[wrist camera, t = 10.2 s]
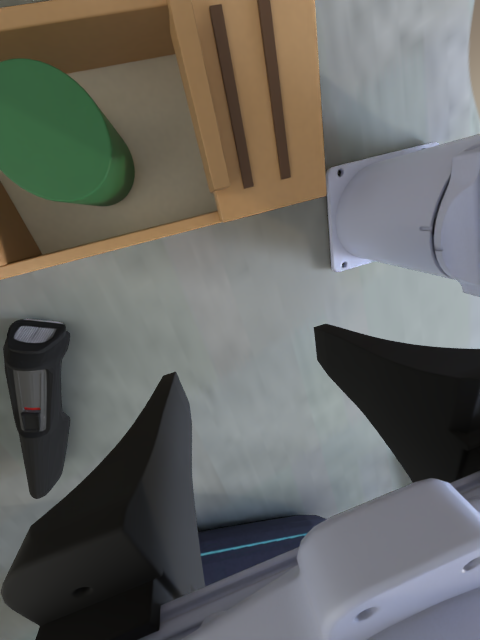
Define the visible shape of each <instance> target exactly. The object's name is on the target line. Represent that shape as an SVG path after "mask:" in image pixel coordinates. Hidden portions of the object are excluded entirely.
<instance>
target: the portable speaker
mask: <svg viewBox="0 0 480 640" xmlns="http://www.w3.org/2000/svg"><path fill="white" fill-rule="evenodd" d="M325 520H326V519H324V518H322V517H319V516H316V515H296V516H290V517H284V518H278V519H272V520H267V521H261V522H255V523H249V524H243V525H237V526H231V527H225V528H219V529H213V530H207V531H201V532H198V537H199V545H200V553H201V561H202V568H203V575H204V582H205V586H208V585H210V584H213V583H215V582H217V581H220V580H222V579H224V578H227V577H229V576H231V575H234V574H236V573H239V572H241V571H243V570H246V569H248V568H250V567H253V566H255V565H258V564H260V563H262V562H265V561H267V560H269V559H272V558H274V557H276V556H279V555H281V554H284V553H286V552H288V551H291V550H293V549H295V548H298V547H299V546H300V543H301V540H302V539H303V538H304V537H305V536H306V534H307V533H308V532H309V531H310V530H311V529H312V528H313V527H314V526H316V525H318V524H320V523H321V522H323V521H325Z"/></svg>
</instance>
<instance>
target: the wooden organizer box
mask: <svg viewBox="0 0 480 640" xmlns="http://www.w3.org/2000/svg"><path fill="white" fill-rule="evenodd" d="M17 58H23V59H32V60H37V61H41V62H44V63H47V64H49V65H51V66H53V67H55V68H57V69H59V70H61V71H63V72H64V73H66V74H67V75H69V76H70V77H71V78H72V79H74V80H75V81H76V82H77V83H78V84H79V85H80V86H81V87H83V88H84V89H85V91H86V92H87V93H88V94H89V95H90V96H91V98H92V99H93V100H94V102H95V103H96V104H97V106H98V107H99V108H100V110H101V111H102V112H103V114H104V115H105V116H106V117H107V119H108V120H109V121H110V123H111V124H112V125H113V127H114V128H115V129H116V131H117V132H118V133H119V135H120V136H121V137H122V139H123V140H124V142H125V143H126V145H127V146H128V148H129V150H130V153H131V155H132V158H133V162H134V168H135V177H134V183H133V186H132V188H131V190H130V192H129V193H128V195H127V196H126V197H125V198H124V199H123V200H122V201H120V202H118V203H116V204H114V205H111V206H91V205H83V204H74V203H65V202H57V201H51V200H47V199H44V198H41V197H38V196H36V195H33V194H31V193H29V192H28V191H26V190H24V189H22V188H21V187H19V186H18V185H17V184H15V183H14V182H13V181H11V180H10V179H9V178H8V177H7V176H6V175H5V174H4V173H3V172H2V171H1V170H0V280H1V279H5V278H9V277H13V276H17V275H20V274H24V273H28V272H32V271H36V270H40V269H44V268H47V267H51V266H55V265H59V264H63V263H67V262H71V261H74V260H78V259H82V258H86V257H90V256H94V255H97V254H101V253H105V252H109V251H113V250H117V249H121V248H124V247H128V246H132V245H136V244H140V243H144V242H148V241H151V240H155V239H159V238H163V237H167V236H171V235H175V234H178V233H182V232H186V231H190V230H194V229H198V228H202V227H205V226H209V225H213V224H217V223H221V222H228V221H232V220H236V219H240V218H244V217H247V216H251V215H255V214H259V213H263V212H267V211H271V210H274V209H278V208H282V207H286V206H290V205H294V204H297V203H301V202H305V201H309V200H313V199H317V198H321V197H324V196H326V195H327V188H326V172H325V156H324V140H323V124H322V108H321V92H320V76H319V60H318V44H317V28H316V12H315V0H51V1H44V2H37V3H30V4H23V5H17V6H10V7H3V8H0V62H2V61H5V60H9V59H17Z"/></svg>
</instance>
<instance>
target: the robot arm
mask: <svg viewBox="0 0 480 640" xmlns="http://www.w3.org/2000/svg"><path fill="white" fill-rule="evenodd" d="M338 170H340V172H341V174H340V176H338V174H337V172H338ZM326 188H327V205H328V221H329V237H330V253H331V268H332V270H333V271H335V272H340V271H343V270H347V269H350V268H353V267H357V266H360V265H363V264H367V263H370V262H374V261H377V262H381V263H385V264H390V265H394V266H398V267H402V268H407V269H411V270H415V271H420V272H424V273H428V274H432V275H437V276H441V277H445V278H450V279H454V280H457V281H458V282H459V283H460V284H461V286H462V289H463V292H464V293H467V294H471V295H474V296H478V297H480V134H477V135H474V136H470V137H466V138H463V139H459V140H455V141H452V142H448V143H445V144H441V145H439V144H438V142H431V143H427V144H423V145H419V146H415V147H411V148H407V149H403V150H399V151H395V152H391V153H387V154H383V155H379V156H375V157H370V158H366V159H362V160H358V161H354V162H350V163H346V164H342V165H338V166H334V167H331V168H329V169H328V170H327V172H326ZM343 262H344V265H343V266H341V265H342V263H343ZM314 333H315V342H316V352H317V360H318V362H319V363H320V365H321V366H322V367H323V369H324V370H325V372H326V373H327V374H328V376H329V377H330V378H331V379H332V380H333V381H334V382H335V383H336V384H337V385H338V386H339V387H340V389H341V390H342V391H343V392H344V393H345V394H346V395H347V396H348V397H349V398H350V399H351V400H352V401H353V402H354V403H355V404H356V405H357V407H358V408H359V409H360V410H361V411H362V412H363V413H364V415H365V416H366V417H367V419H368V420H369V421H370V422H371V424H372V425H373V426H374V428H375V429H376V430H377V432H378V433H379V434H380V436H381V437H382V438H383V440H384V441H385V443H386V444H387V445H388V447H389V448H390V449H391V451H392V452H393V454H394V455H395V457H396V458H397V459H398V461H399V462H400V464H401V465H402V467H403V468H404V470H405V471H406V473H407V474H408V476H409V477H410V479H411V480H412V482H413V483H412V484H409V485H407V486H404V487H402V488H399V489H397V490H395V491H392V492H390V493H387V494H385V495H383V496H380V497H378V498H375V499H373V500H371V501H368V502H366V503H363V504H361V505H358V506H356V507H354V508H351V509H349V510H346V511H344V512H342V513H339V514H337V515H334V516H332V517H330V518H328V519H326V520H325V521H323V522H321V523H320V524H318V525H316V526H314V527H313V528H312V529H311V530H310V531H309V532H308V533H307V534H306V536H305V537H304V538H303V539H302V540H301V543H300V546H299V547H298V548H295V549H293V550H291V551H288V552H286V553H284V554H281V555H279V556H276V557H274V558H272V559H269V560H267V561H265V562H262V563H260V564H258V565H255V566H253V567H250V568H248V569H246V570H243V571H241V572H239V573H236V574H234V575H231V576H229V577H227V578H224V579H222V580H220V581H217V582H215V583H213V584H210V585H208V586H205V582H204V575H203V568H202V561H201V553H200V545H199V537H198V529H197V521H196V512H195V503H194V493H193V482H192V421H191V413H190V405H189V401H188V399H187V397H186V394H185V392H184V390H183V387H182V385H181V383H180V380H179V378H178V375H177V373H176V372H173V373H170V374H167V375H164V376H163V377H162V379H161V381H160V382H159V384H158V386H157V387H156V389H155V391H154V393H153V394H152V396H151V398H150V399H149V401H148V403H147V404H146V406H145V408H144V409H143V411H142V412H141V413H140V415H139V416H138V418H137V419H136V421H135V422H134V424H133V425H132V427H131V428H130V429H129V431H128V432H127V433H126V434H125V436H124V437H123V438H122V439H121V441H120V442H119V443H118V444H117V445H116V447H115V448H114V449H113V450H112V451H111V452H110V453H109V454H108V455H107V456H106V458H105V459H104V460H103V461H102V462H101V463H100V464H99V465H98V466H97V467H96V468H95V469H94V470H93V471H92V472H91V473H90V474H89V475H88V476H87V477H86V478H85V479H84V480H83V481H82V482H81V483H80V484H79V485H78V486H77V487H76V488H75V489H74V490H72V491H71V492H70V493H69V494H68V495H67V496H66V497H65V498H64V499H62V500H61V501H60V502H59V503H58V504H56V505H55V506H54V507H53V508H52V509H51V510H49V511H48V512H47V513H46V514H45V515H43V516H42V517H41V518H40V519H39V520H38V521H36V522H35V523H34V524H33V525H31V527H30V529H29V531H28V533H27V535H26V537H25V539H24V541H23V543H22V545H21V547H20V549H19V551H18V553H17V556H16V558H15V560H14V562H13V564H12V566H11V568H10V570H9V572H8V574H7V576H6V578H5V580H4V582H3V585H2V589H1V594H2V597H3V600H4V602H5V604H7V605H8V606H9V607H10V608H11V609H12V610H14V611H16V612H17V613H19V614H21V615H22V616H24V617H26V618H27V619H29V620H31V621H32V622H34V623H36V624H38V625H39V626H40V628H39V631H38V634H37V637H36V640H480V349H458V348H441V347H430V346H421V345H413V344H406V343H400V342H394V341H389V340H385V339H380V338H376V337H372V336H368V335H364V334H360V333H357V332H353V331H350V330H346V329H343V328H340V327H336V326H332V325H328V324H323V325H320V326H317V327H314Z"/></svg>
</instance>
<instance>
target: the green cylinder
mask: <svg viewBox="0 0 480 640" xmlns="http://www.w3.org/2000/svg"><path fill="white" fill-rule="evenodd" d="M0 170H1V171H2V172H3V173H4V174H5V175H6V176H7V177H8V178H9V179H10V180H11V181H13V182H14V183H15V184H17V185H18V186H19V187H21V188H22V189H24V190H26V191H28V192H29V193H31V194H33V195H36V196H38V197H41V198H44V199H47V200H51V201H57V202H65V203H74V204H83V205H91V206H111V205H114V204H116V203H118V202H120V201H122V200H123V199H124V198H125V197H126V196H127V195H128V193H129V192H130V190H131V188H132V186H133V183H134V177H135V168H134V162H133V158H132V155H131V153H130V150H129V148H128V146H127V145H126V143H125V142H124V140H123V139H122V137H121V136H120V135H119V133H118V132H117V131H116V129H115V128H114V127H113V125H112V124H111V123H110V121H109V120H108V119H107V117H106V116H105V115H104V114H103V112H102V111H101V110H100V108H99V107H98V106H97V104H96V103H95V102H94V100H93V99H92V98H91V96H90V95H89V94H88V93H87V92H86V91H85V89H84V88H83V87H81V86H80V85H79V84H78V83H77V82H76V81H75V80H74V79H72V78H71V77H70V76H69V75H67V74H66V73H64V72H63V71H61V70H59V69H57V68H55V67H53V66H51V65H49V64H47V63H44V62H41V61H37V60H32V59H23V58H17V59H9V60H5V61H2V62H0Z"/></svg>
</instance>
